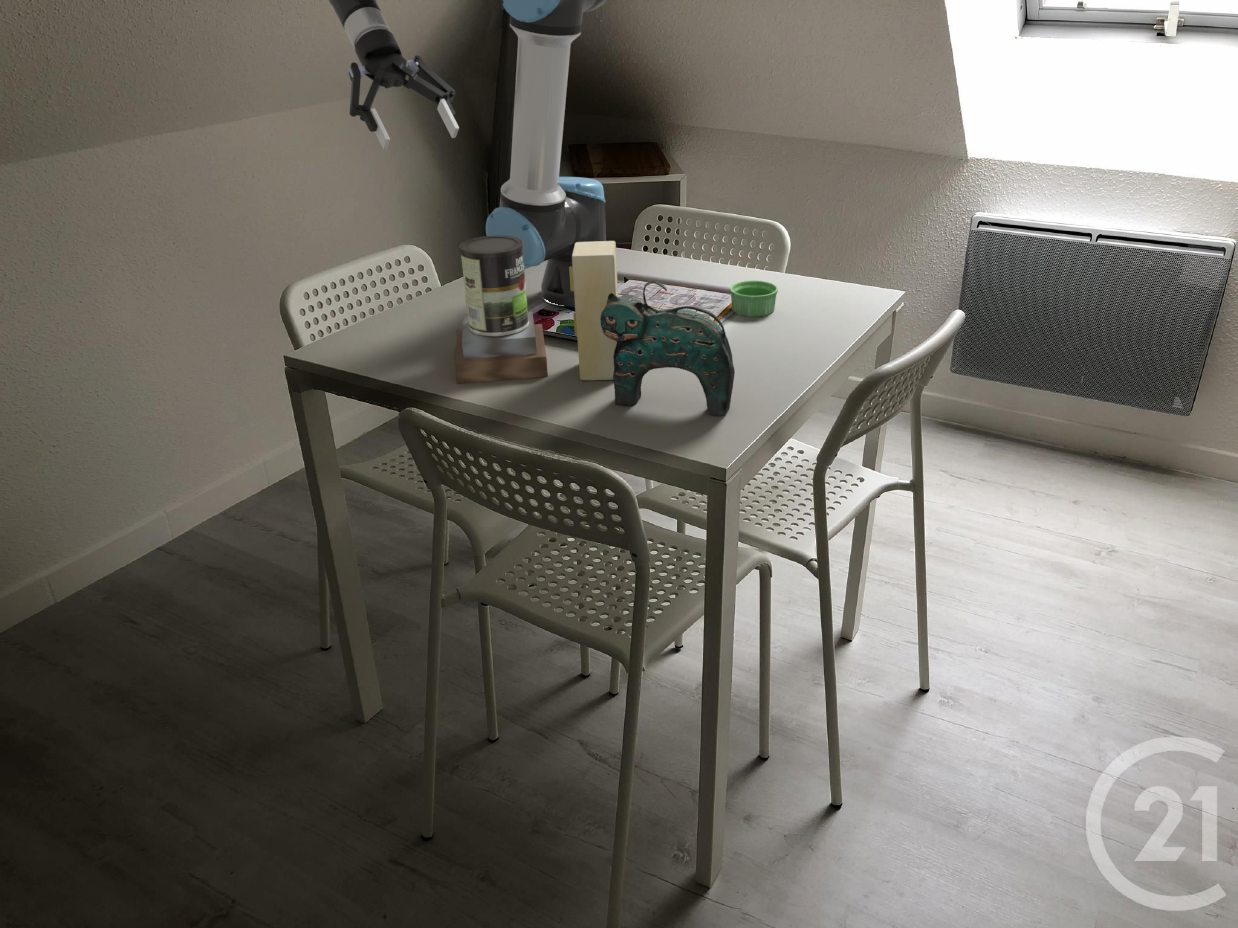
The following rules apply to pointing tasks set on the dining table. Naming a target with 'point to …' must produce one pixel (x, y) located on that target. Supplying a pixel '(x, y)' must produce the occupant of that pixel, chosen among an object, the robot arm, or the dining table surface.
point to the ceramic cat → (667, 348)
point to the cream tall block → (593, 306)
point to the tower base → (501, 363)
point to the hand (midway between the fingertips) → (422, 139)
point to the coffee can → (494, 285)
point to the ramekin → (753, 298)
